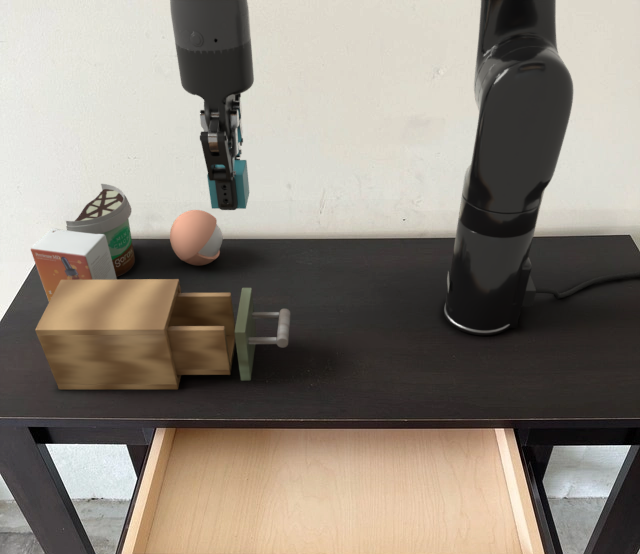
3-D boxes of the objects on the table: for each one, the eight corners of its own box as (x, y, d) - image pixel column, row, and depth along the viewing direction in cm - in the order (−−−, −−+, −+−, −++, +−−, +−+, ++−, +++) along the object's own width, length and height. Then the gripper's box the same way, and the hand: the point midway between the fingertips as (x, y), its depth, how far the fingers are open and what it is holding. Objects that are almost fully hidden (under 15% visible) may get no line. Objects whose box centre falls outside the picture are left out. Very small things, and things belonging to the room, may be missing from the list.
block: (249, 192, 79) (246, 159, 76) (245, 208, 76) (242, 175, 73) (216, 192, 79) (212, 159, 76) (211, 208, 76) (207, 175, 73)
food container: (123, 290, 95) (106, 227, 88) (83, 286, 96) (63, 222, 89) (155, 246, 103) (141, 185, 96) (118, 242, 104) (102, 181, 97)
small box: (52, 316, 91) (27, 248, 83) (72, 293, 95) (50, 226, 87) (105, 323, 89) (85, 255, 82) (124, 300, 93) (105, 233, 86)
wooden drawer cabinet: (190, 337, 87) (178, 278, 81) (178, 389, 80) (164, 329, 73) (81, 338, 87) (60, 279, 81) (58, 389, 80) (34, 329, 74)
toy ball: (226, 274, 98) (219, 225, 92) (173, 277, 97) (163, 228, 91) (226, 246, 103) (219, 198, 98) (176, 249, 103) (167, 201, 97)
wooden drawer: (292, 335, 86) (290, 287, 80) (289, 380, 79) (286, 332, 74) (153, 335, 86) (142, 288, 81) (139, 380, 80) (126, 332, 75)
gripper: (242, 58, 60) (257, 230, 72) (257, 15, 70) (267, 172, 82) (160, 58, 60) (189, 229, 73) (187, 15, 70) (208, 172, 83)
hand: (231, 198), depth 77 cm, fingers closed on block, 4 cm apart
